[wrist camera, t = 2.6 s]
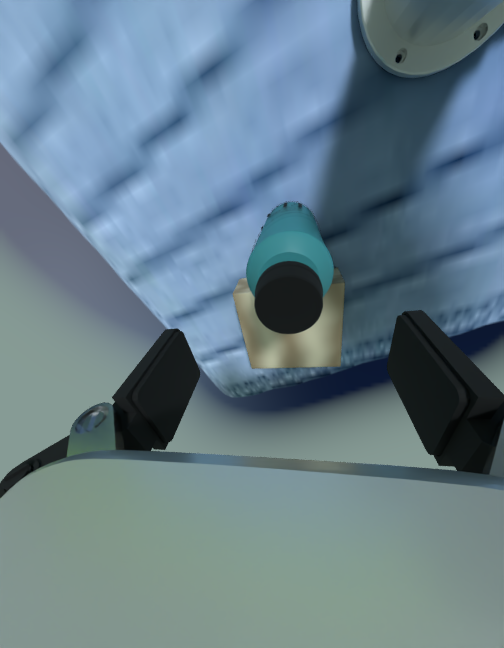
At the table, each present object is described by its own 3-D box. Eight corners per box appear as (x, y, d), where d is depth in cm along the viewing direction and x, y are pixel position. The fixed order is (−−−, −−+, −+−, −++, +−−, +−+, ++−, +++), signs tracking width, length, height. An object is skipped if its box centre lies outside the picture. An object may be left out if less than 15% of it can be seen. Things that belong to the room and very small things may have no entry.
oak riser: (337, 267, 30) (344, 282, 26) (335, 345, 38) (340, 366, 34) (239, 278, 33) (232, 294, 29) (255, 348, 41) (251, 368, 37)
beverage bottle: (308, 188, 26) (336, 225, 9) (321, 243, 29) (360, 340, 13) (256, 212, 28) (208, 273, 12) (274, 260, 31) (256, 362, 15)
